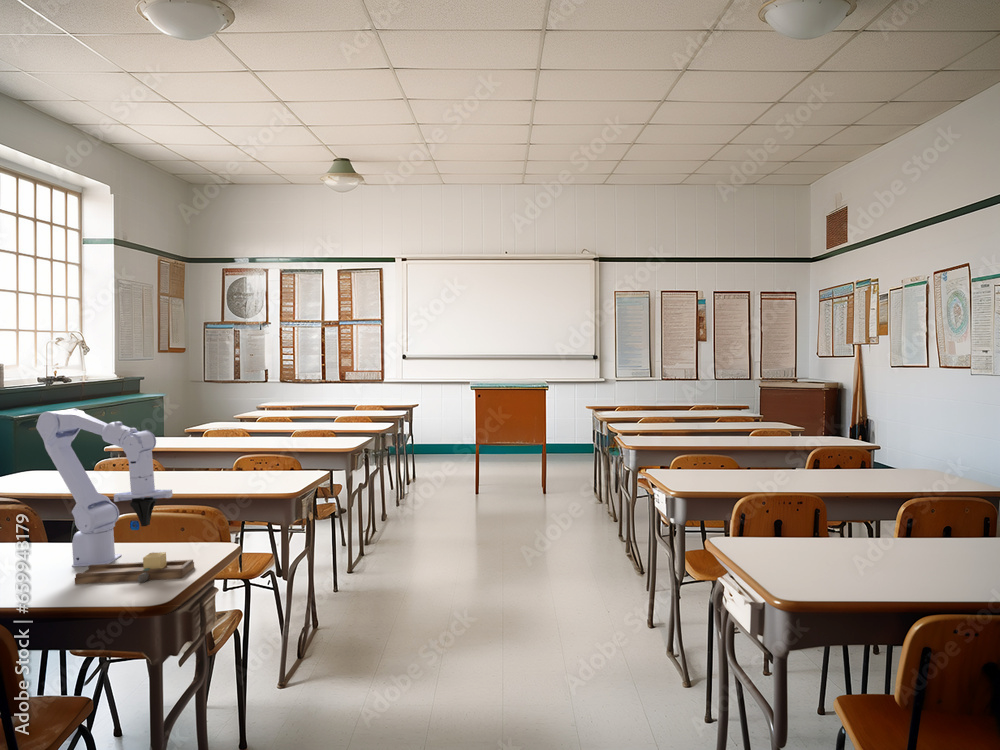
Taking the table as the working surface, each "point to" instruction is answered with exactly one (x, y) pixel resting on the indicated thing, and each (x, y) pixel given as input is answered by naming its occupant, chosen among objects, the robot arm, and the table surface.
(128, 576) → the balance beam
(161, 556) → the block
